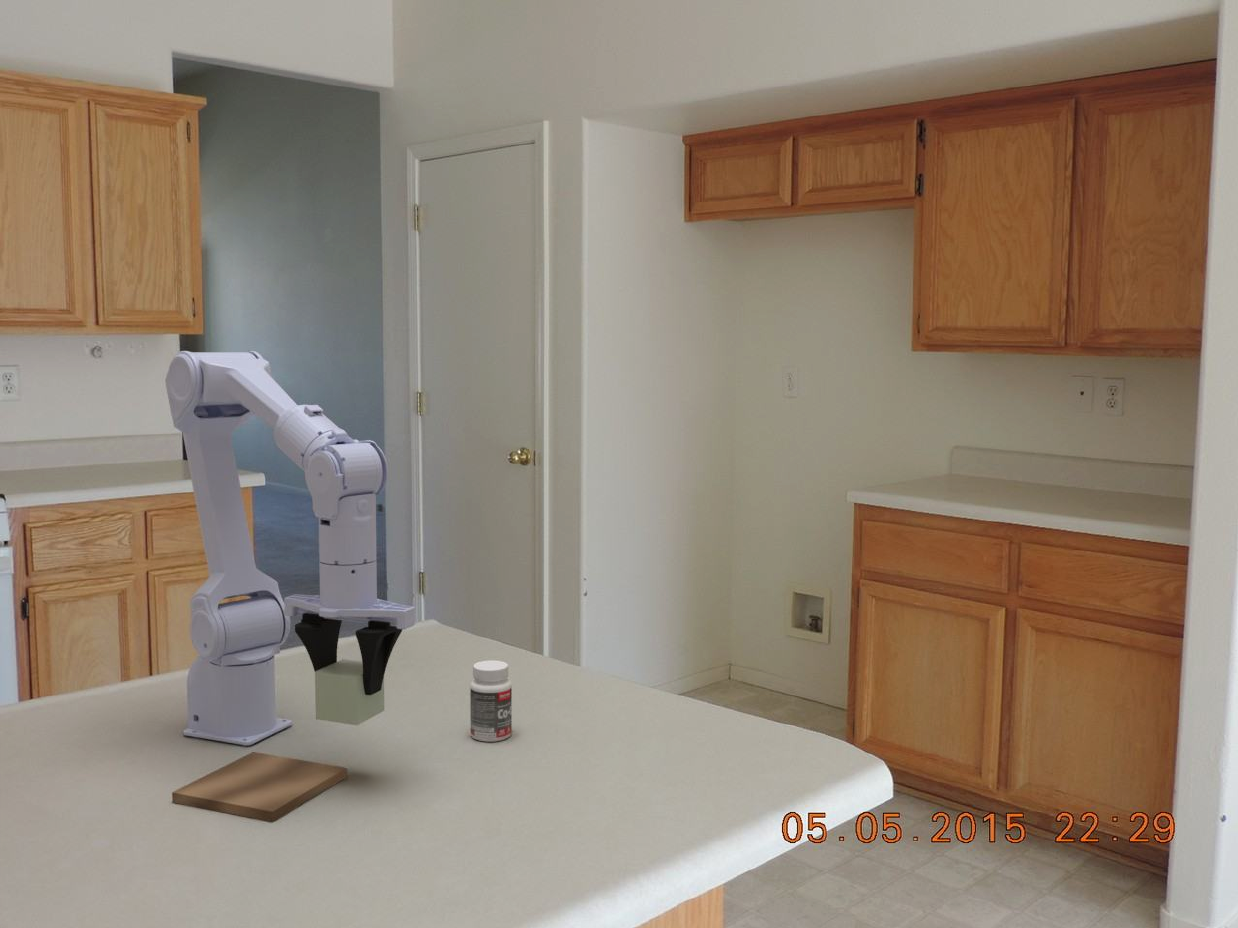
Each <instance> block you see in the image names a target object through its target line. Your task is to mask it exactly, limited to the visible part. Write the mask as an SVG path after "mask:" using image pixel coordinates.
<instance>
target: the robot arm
mask: <svg viewBox="0 0 1238 928" xmlns="http://www.w3.org/2000/svg"><path fill="white" fill-rule="evenodd" d="M271 369H272V368H271V365H270V361H268V360H266V359H265V358H263V356H262V355H261V354H260V353H259V352H257V351H255V350H248V351H244V352H243V351H242V352H241V351H238V352H235V351H233V352H232V351H230V352H229V351H227V352H225V351H219V352H218V351H216V352H215V351H214V352H212V351H210V352H209V351H208V352H205V351H204V352H202V351H201V352H199V351H198V352H195V351H194V352H193V351H188V350H181V351H178V352H177V353H176V354H175V355H174V357H173V358H172V360H171V361H170V364H169V367H168V370H167V373H166V377H165V380H164V381H165V388H166V393H167V398H168V404H169V409H170V413H171V414H170V415H171V417H172V422H173V427H174V428H175V429H177V430H179V432H182V437H183V442H184V447H185V452H186V458H187V463H188V469H189V474H190V479H191V484H192V489H193V496H194V500H195V501H194V502H195V505H196V511H197V516H198V520H199V521H198V522H199V527H200V533H201V539H202V543H203V548H204V554H205V559H206V565H207V570H208V575H209V577H208V578H207V579H206V580H205V582H204V583H203V584H202V585H200V587H199V588H198V589H197V590H196V592H194V593H193V595H191V598H190V599H189V605H190V617H191V619H190V627H189V631H190V632H189V633H190V640H191V643H192V646H193V648H194V650H195V651H196V653H197V654H198V655H199V656H197V657H196V658H195V659H194V660H193V662H192V663H191V666H189V670H188V673H187V677H186V678H187V679H186V699H187V700H186V702H187V727H188V728H186V729H184V730H183V736H187V737H194V738H200V739H206V740H212V741H217V742H218V741H219V742H223V743H231V744H235V745H243V746H251V745H254V744H255V743H258V742H260V741H262V740H263V739H266V738H268V737H271V736H272V735H274V734H276V733H278V732H279V731H282V730H284V729H286V728H288V727H290V726H292V724H293V721H292V720H290V719H285V718H279V717H276V716H277V715H276V713H277V712H276V710H277V708H276V672H275V671H276V670H275V669H276V667H275V655H278V654H279V655H280V653H281V646H282V645H283V644H285V642H286V641H287V639H288V637H289V634H290V631H291V617H296V616H302V617H301V619H300V622H298V623H296V624H295V625H294V632H295V633H296V635H297V636H298V638H299V639H300V641H301V643H302V644H303V646H304V647H305V649H306V652H307V654H308V656H309V659H310V661H311V663H312V664H311V665H312V667H313V670H314V672H315V671H318V670H320V669H322V668H324V667H327V666H329V665H331V664H333V663H336V662H338V644H339V638H340V636H339V635H340V632H341V626H342V622H343V621H344V622H354V623H360V624H361V623H363V624H367V626H364V627H362V628H360V629H357V630H355V637H356V640H357V644H358V646H359V651H360V656H361V661H362V663H363V684H364V691H365V695H373V694H375V693H377V692H379V691H381V687H382V682H383V678H384V679H385V674H386V669H387V666H388V663H389V660H390V657H391V654H392V652H393V649H394V647H395V645H396V643H397V642H398V639H399V637H400V635H401V634H402V632H403V630H407V629H409V628H411V627H413V626H415V625H416V607H415V606H409V605H404V604H399V603H396V602H392V601H388V600H385V599H384V600H383V599H379V598H378V586H377V585H378V582H377V581H378V575H377V570H378V569H377V568H378V567H377V566H378V565H377V564H378V563H377V559H378V558H377V498H376V497H377V496H379V495H380V494H381V493H382V492H383V491H384V490H385V487H386V485H387V483H388V477H389V469H388V468H389V467H388V463H387V462H388V461H387V458H386V456H385V454H384V452H383V450H382V449H381V448H380V447H379V445H378V444H377V443H376V442H375V441H374V440H370V439H367V440H358V439H353V438H352V437H350V436H349V435H348V433H347V431H345V430H344V429H343V428H340V427H339V426H337V425H336V424H335V423H334V422H333V421H332V420H331V419H330V418H328V417H327V416H326V415H325V414H324V409H323V408H322V407H320V406H319V405H318V404H297V403H296V402H295V401H294V399H292V398H291V397H290V396H289V395H288V393H287V392H286V391H285V390H284V389H283V387H281V386H280V385H279V384H278V383H277V381H275V380H274V378H273V376H272V370H271ZM253 415H255V417H257V418H259V419H260V420H261V421H263V422H264V423H265V424H266V425H268V426H269V427H271V428H272V429H273V439H274V443H275V445H276V446H277V447H278V449H280V450H281V451H282V452H283V453H284V454H285V455H286V456H287V457H288V458H289V459H291V461H293V463H294V464H296V466H298V467H299V468H300V469H301V470H302V471H303V472H304V476H305V477H304V478H305V483H306V486H307V489H308V492H309V493H310V496H311V499H312V500H311V501H312V511H313V512H314V516H315V517H316V518H318V553H319V554H318V557H319V560H318V561H319V562H318V563H319V564H318V565H319V567H318V568H319V569H318V570H319V595H318V594H315V595H314V594H298V593H297V594H296V593H295V594H292V595H290V596H289V595H288V596H287V597H284V599H283V598H282V594H281V591H280V588H279V583H278V581H276V580H275V579H274V578H272V577H271V576H268V575H267V574H265V573H264V572H262V571H261V570H259V569H258V568H257V565H256V561H255V555H254V550H253V545H252V540H251V535H250V529H249V524H248V519H247V513H246V508H245V503H244V497H243V493H242V488H241V482H240V477H239V472H238V467H237V466H238V465H237V461H236V455H235V451H234V447H233V439H232V438H233V435H234V433H235V432H236V430H237V429H239V428H240V427H242V426H244V425H246V424H247V422H248V421H249V420H250V418H251V417H252V416H253ZM238 597H249V598H243V599H238V600H232V601H227V602H223V603H222V602H221V601H222V600H226V599H227V600H228V599H231V598H233V599H234V598H238Z"/></svg>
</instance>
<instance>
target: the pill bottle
mask: <svg viewBox="0 0 1238 928" xmlns="http://www.w3.org/2000/svg"><path fill="white" fill-rule="evenodd" d="M472 668H473V670H472V676H473V680H471V682H470V689H469V690H470V693H469V694H470V696H469V697H470V699H469V700H470V701H469V702H470V704H469V705H470V736H471V737H472V738H473V740H476V741H480V742H486V743H490V742H491V743H492V742H493V743H494V742H501V741H504V740H507V739H508V738H510V737H511V736H512V727H513V726H512V722H513V721H512V719H513V718H512V710H513V709H512V707H513V705H512V700H513V699H512V695H513V694H512V682H511V680H510V679H508V678H509V664H508V663H507V662H505V661H501V660H482V661H478V662H475V663H474V664H473V666H472Z"/></svg>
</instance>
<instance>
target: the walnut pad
mask: <svg viewBox="0 0 1238 928" xmlns="http://www.w3.org/2000/svg"><path fill="white" fill-rule="evenodd" d="M347 778H348V768H347V767H344V766H338V765H333V764H332V765H331V764H326V763H321V762H316V761H315V762H314V761H309V760H303V759H296V758H291V757H285V756H280V755H275V754H267V753H262V752H256V751H252V752H250V753H247V754H246V755H243V756H242V757H240V758H237V759H235V760H234V761H232V762H230V763H227V764H225V765H223V766H222V767H220V768H217V769H216V770H214V771H212V772H210V773H208V774H206V775H204V776H202V777H200V778H198V779H196V780H194V781H192V782H190V783H188V784H186V785H184V786H182V787H180V788H178V789H176V790H174V791H172V792H171V797H172V801H171V802H172V803H175V804H180V805H184V806H190V807H196V808H201V809H205V810H209V811H210V810H211V811H216V812H221V813H226V814H231V815H236V816H241V817H247V818H251V819H255V820H256V819H257V820H261V821H267V822H271V823H272V822H275V821H277V820H279V819H280V818H282V817H284V816H285V815H286V814H288V813H290V812H291V811H293V810H295V809H296V808H298V807H300V806H302V805H303V804H305V803H306V802H308V801H309V800H311V799H313V798H315V797H316V796H318V795H319V794H321V793H323V792H325V791H326V790H327V789H330V788H331V787H333V786H334V785H336V784H337V783H340V782H341V781H343V780H345V779H347Z"/></svg>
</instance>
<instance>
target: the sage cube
mask: <svg viewBox="0 0 1238 928" xmlns="http://www.w3.org/2000/svg"><path fill="white" fill-rule="evenodd" d="M314 678H315V679H314V686H315V687H314V688H315V691H314V692H315V698H314V699H315V719H316V720H320V721H326V722H332V723H338V724H345V725H346V724H347V725H352V726H359V725H361V724H362V723H364V722H367V721H368V720H370V719H371V718H373V717H376V716H378V715H380V714H381V713H383V712H384V711H385V677H384V678H383V682H382V687H381V691H379V692H377V693H375V694H373V695H365V691H364V684H363V663H362V660H361V661H360V660H354V659H352V660H351V659H345V658H343V659H340V660H337V662H336V663H333V664H331V665H329V666H327V667H324V668H322V669H320V670H318V671H314Z"/></svg>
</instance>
